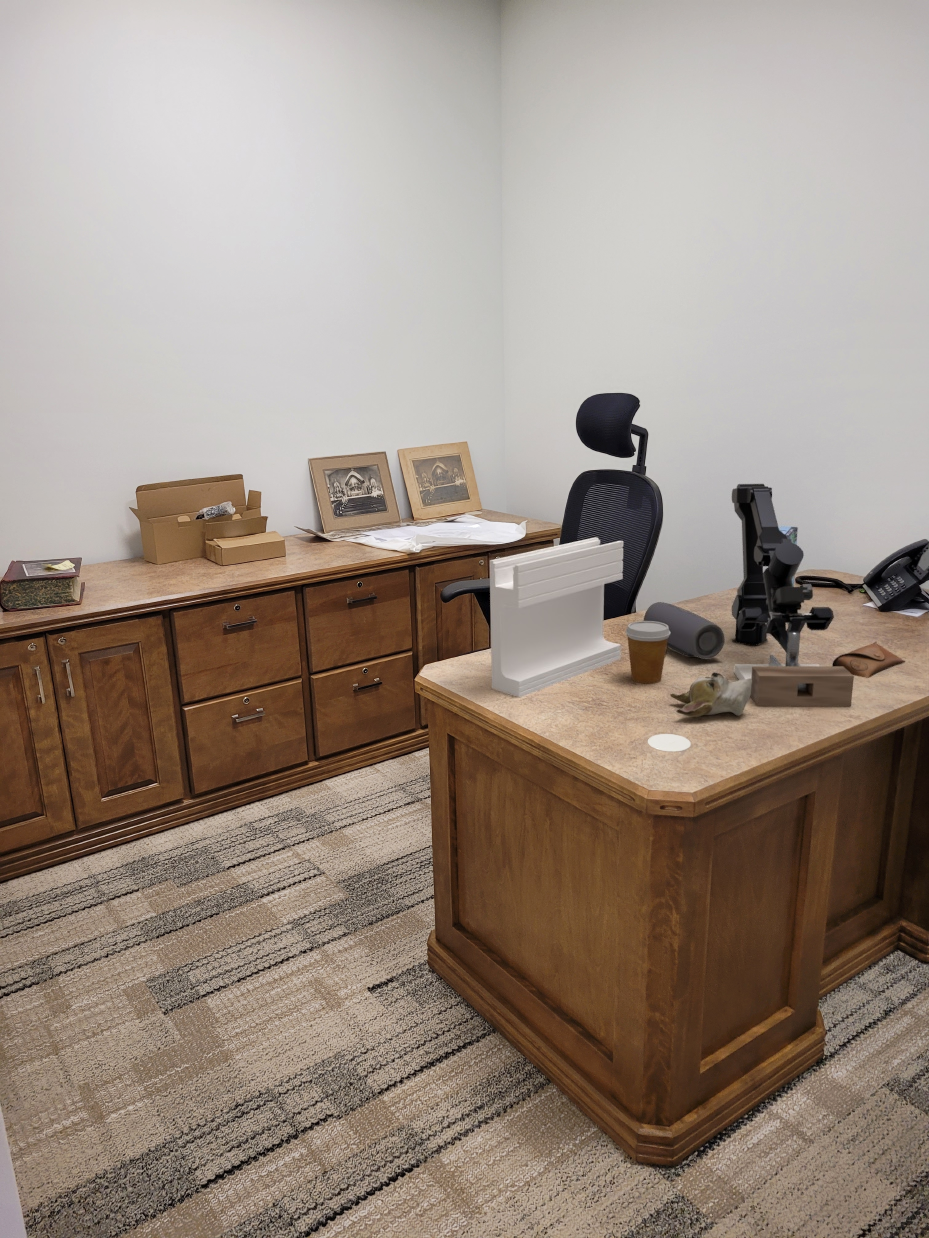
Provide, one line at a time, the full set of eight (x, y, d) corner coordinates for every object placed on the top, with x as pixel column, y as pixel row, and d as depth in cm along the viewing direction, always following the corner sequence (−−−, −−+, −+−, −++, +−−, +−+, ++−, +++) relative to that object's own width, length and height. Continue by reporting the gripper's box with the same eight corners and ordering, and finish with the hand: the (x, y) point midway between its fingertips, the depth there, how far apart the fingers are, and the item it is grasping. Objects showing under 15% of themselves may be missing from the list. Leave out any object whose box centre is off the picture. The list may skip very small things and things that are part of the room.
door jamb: (750, 695, 179) (752, 666, 177) (840, 695, 178) (843, 666, 176) (757, 706, 173) (759, 676, 171) (850, 706, 172) (853, 676, 170)
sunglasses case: (869, 679, 187) (856, 650, 188) (840, 687, 192) (828, 659, 193) (907, 661, 198) (895, 633, 199) (879, 669, 203) (867, 643, 204)
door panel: (734, 672, 193) (735, 652, 192) (817, 672, 191) (819, 652, 190) (746, 689, 182) (747, 668, 181) (834, 689, 181) (836, 667, 180)
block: (593, 652, 210) (595, 537, 203) (620, 659, 205) (623, 541, 197) (491, 688, 187) (489, 560, 180) (519, 697, 181) (518, 565, 174)
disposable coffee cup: (670, 673, 193) (672, 621, 190) (665, 688, 185) (668, 633, 181) (627, 670, 196) (629, 619, 193) (620, 684, 188) (622, 630, 184)
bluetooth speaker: (640, 640, 219) (641, 601, 216) (673, 636, 221) (674, 598, 219) (690, 666, 198) (692, 624, 195) (725, 661, 201) (728, 620, 198)
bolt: (783, 676, 183) (786, 630, 180) (794, 676, 182) (798, 630, 180) (794, 689, 175) (798, 642, 172) (806, 689, 174) (810, 642, 172)
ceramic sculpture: (758, 679, 162) (676, 683, 164) (758, 723, 164) (677, 726, 166) (746, 662, 172) (668, 666, 174) (746, 703, 174) (670, 707, 176)
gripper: (743, 570, 183) (753, 635, 175) (834, 569, 182) (848, 635, 174) (732, 598, 193) (741, 660, 185) (819, 597, 191) (832, 660, 183)
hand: (790, 654), depth 181 cm, fingers closed, pressing on bolt
